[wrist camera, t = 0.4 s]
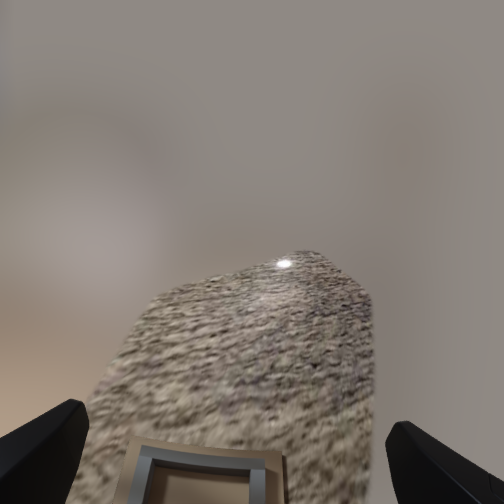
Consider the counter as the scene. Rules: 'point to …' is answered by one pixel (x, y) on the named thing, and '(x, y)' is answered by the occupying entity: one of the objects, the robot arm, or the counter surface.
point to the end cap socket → (198, 475)
